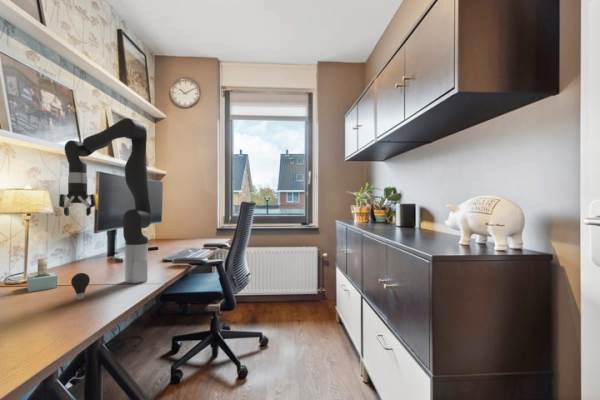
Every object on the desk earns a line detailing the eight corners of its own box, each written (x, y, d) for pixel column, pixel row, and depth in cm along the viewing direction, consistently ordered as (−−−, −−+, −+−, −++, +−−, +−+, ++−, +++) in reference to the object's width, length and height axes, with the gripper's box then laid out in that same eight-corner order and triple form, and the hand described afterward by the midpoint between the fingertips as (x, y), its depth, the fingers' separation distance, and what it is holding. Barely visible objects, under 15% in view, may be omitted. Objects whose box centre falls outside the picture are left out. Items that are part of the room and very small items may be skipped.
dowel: (47, 287, 129) (47, 259, 129) (37, 288, 126) (38, 260, 126) (46, 286, 131) (46, 258, 131) (37, 287, 128) (37, 259, 129)
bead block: (57, 287, 129) (57, 275, 129) (28, 291, 122) (29, 279, 122) (54, 283, 135) (54, 272, 135) (26, 287, 128) (27, 275, 128)
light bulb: (92, 299, 114) (92, 272, 114) (75, 303, 109) (75, 275, 109) (85, 296, 116) (85, 270, 117) (67, 300, 112) (68, 273, 112)
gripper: (56, 181, 142) (56, 216, 141) (92, 182, 146) (92, 215, 146) (63, 182, 149) (63, 215, 149) (97, 183, 153) (97, 215, 153)
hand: (77, 215), depth 147 cm, fingers open, 8 cm apart
